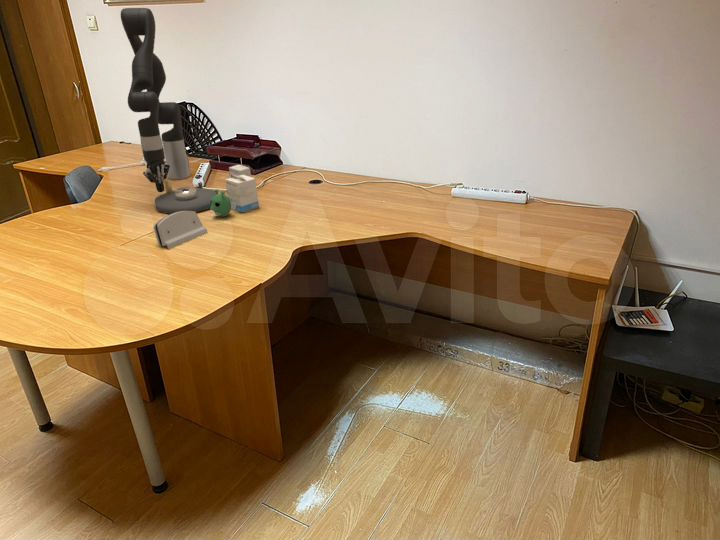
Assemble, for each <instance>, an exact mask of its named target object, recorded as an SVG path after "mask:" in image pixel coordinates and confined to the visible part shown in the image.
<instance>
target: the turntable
mask: <svg viewBox="0 0 720 540" xmlns="http://www.w3.org/2000/svg"><path fill="white" fill-rule="evenodd" d="M163 183H164V189H165V191H166V192H164V193H162V194H159V195H158V196H156V197H155V199H154V200H153V201H154V205H155V210H157V211H158V212H161V213H165V214H169V215H170V214H172V213H176V212H180V211H195V212H196V213H199V212H202V211H206V210H209V209H210V207H211V203H210V202H211V198H213V197H214V196H215V195H217V193H216V192H214V191H215V189H214V190H213V189H210V188H199V187H198V188H197V187H195V188H196V192H197V198H196V199H193V200H189V201H178V200H176V197H175V190H173V186H172V179H165V180H164V182H163Z"/></svg>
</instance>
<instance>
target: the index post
mask: <svg viewBox="0 0 720 540" xmlns="http://www.w3.org/2000/svg"><path fill="white" fill-rule="evenodd" d="M197 186H198V188H203V182H197ZM203 189H204V188H203Z"/></svg>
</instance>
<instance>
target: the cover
mask: <svg viewBox="0 0 720 540" xmlns="http://www.w3.org/2000/svg"><path fill="white" fill-rule="evenodd" d="M196 188H197V187H190V186H186V187H180V188H177V189H175V190H174V191H175V197H176V200H178V201H189V200H193V199H196V198H197V192H196Z"/></svg>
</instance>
